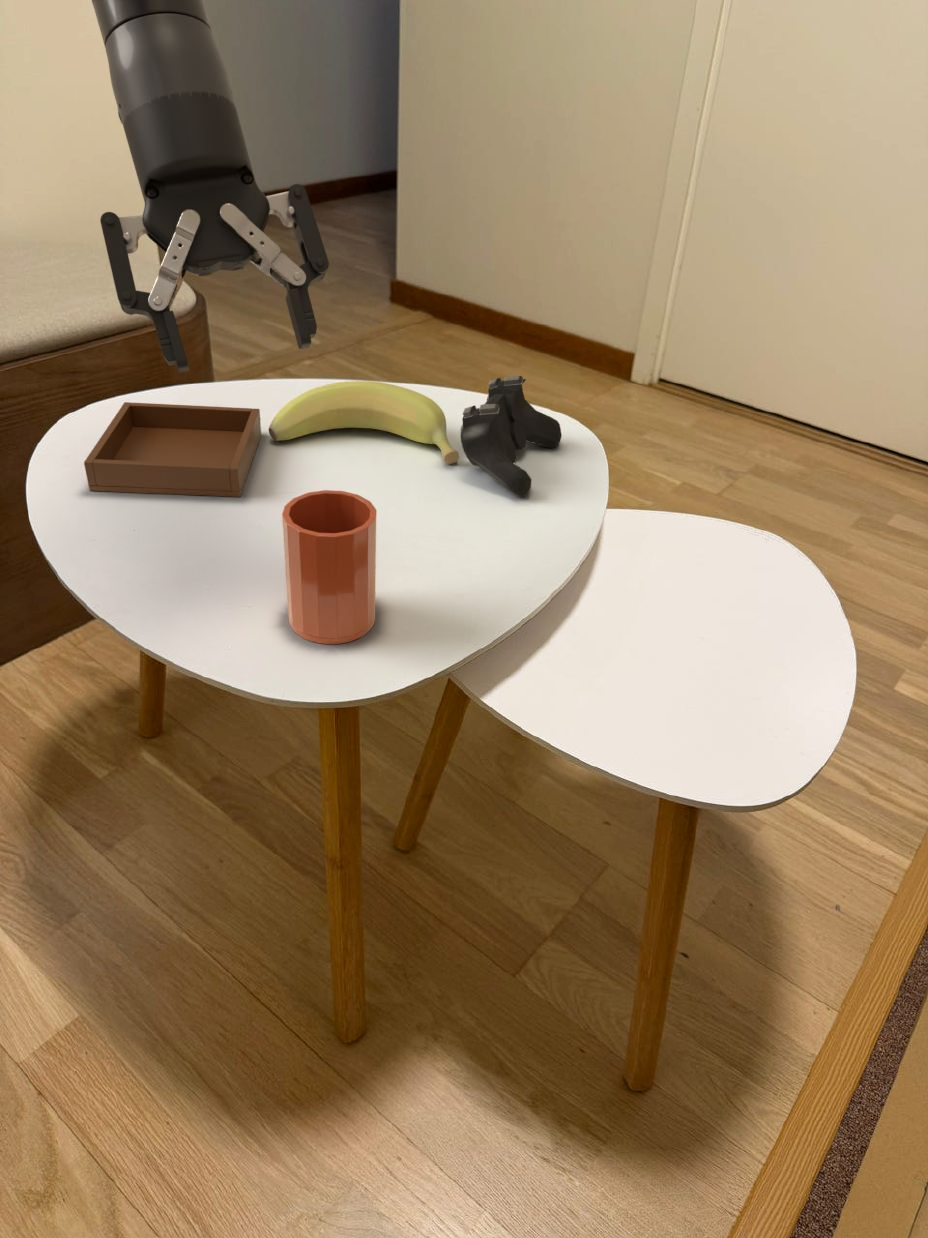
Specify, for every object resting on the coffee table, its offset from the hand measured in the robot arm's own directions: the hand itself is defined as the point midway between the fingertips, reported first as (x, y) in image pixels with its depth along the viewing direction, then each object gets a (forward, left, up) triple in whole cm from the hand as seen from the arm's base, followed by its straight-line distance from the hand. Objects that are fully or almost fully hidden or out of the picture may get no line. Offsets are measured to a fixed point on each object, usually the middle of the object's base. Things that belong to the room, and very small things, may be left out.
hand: (246, 357), depth 62 cm
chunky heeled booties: (+23, +28, -21) cm, 42 cm away
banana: (+8, +31, -21) cm, 39 cm away
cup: (+6, -2, -21) cm, 22 cm away
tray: (-12, +25, -21) cm, 35 cm away
